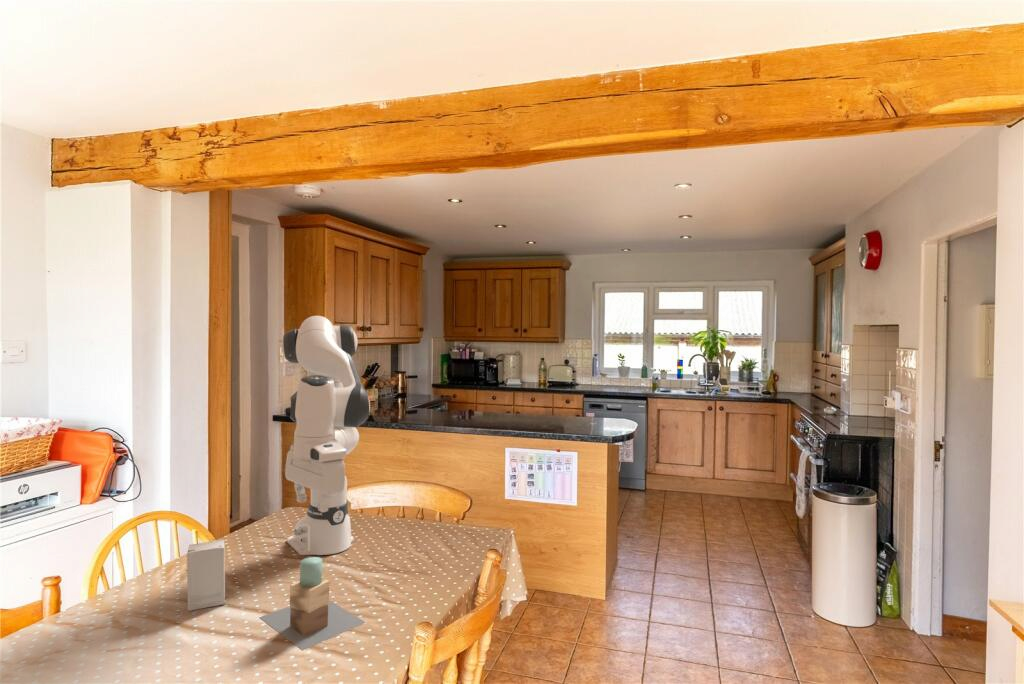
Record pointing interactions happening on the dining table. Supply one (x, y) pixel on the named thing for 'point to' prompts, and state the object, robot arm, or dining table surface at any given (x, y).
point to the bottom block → (309, 620)
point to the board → (337, 624)
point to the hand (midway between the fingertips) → (312, 506)
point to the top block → (309, 596)
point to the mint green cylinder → (310, 572)
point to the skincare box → (206, 574)
